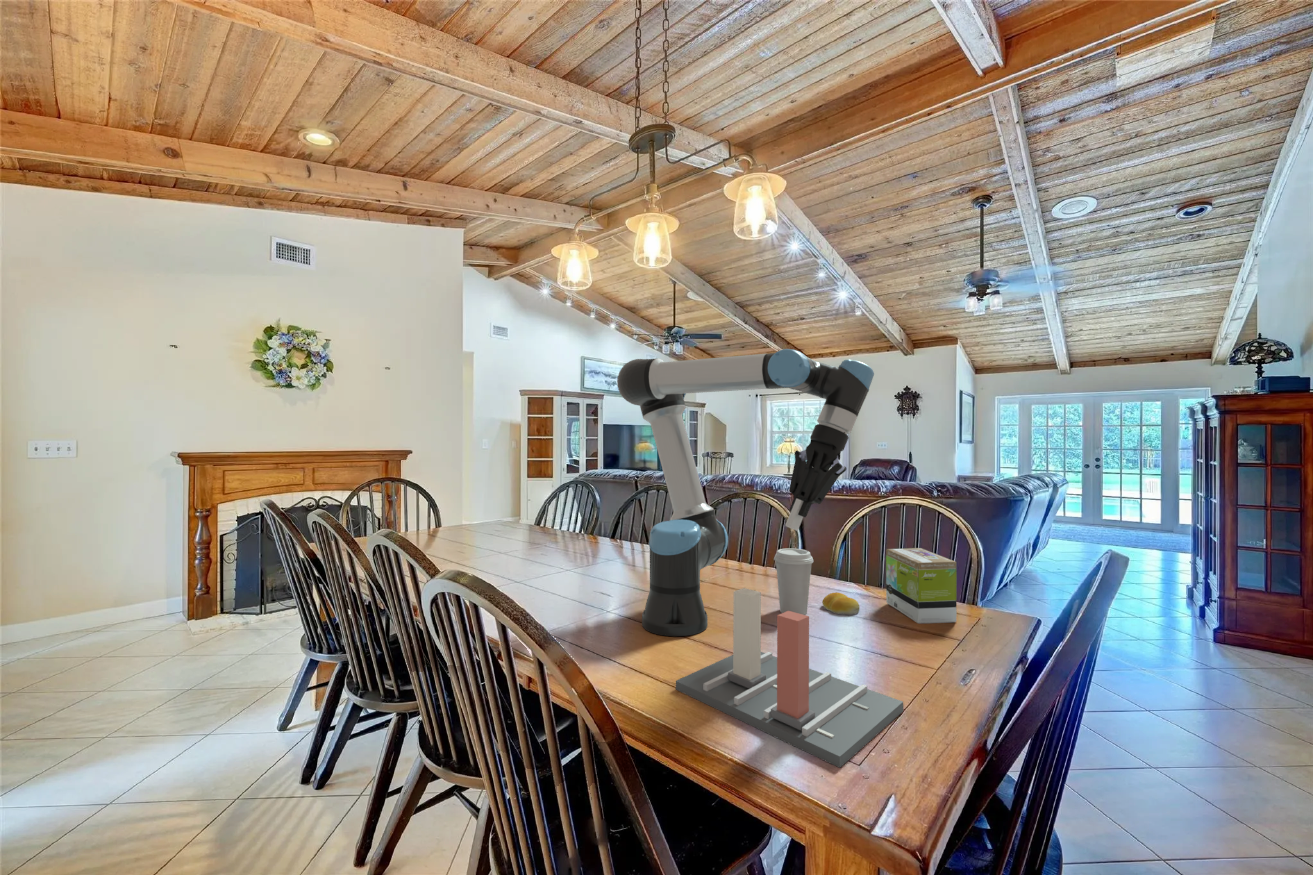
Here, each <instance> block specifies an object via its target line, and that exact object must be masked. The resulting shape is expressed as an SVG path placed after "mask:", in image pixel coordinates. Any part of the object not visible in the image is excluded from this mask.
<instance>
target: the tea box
mask: <svg viewBox="0 0 1313 875" xmlns="http://www.w3.org/2000/svg"><path fill="white" fill-rule="evenodd" d="M885 565H886V566H885V573H886V574H885V577H886V578H885V579H886V580H885V589H886V590H885V591H886V596H885V601H886V604H887V605H889V606H891V607H892V608H894V609H896V611H898V612H900V613H902V614H903V615H905V616H906V617H907V618H909V619H911V620H912V621H914V622H915V623H916V624H918V625H919V624H942V623H943V624H945V623H946V624H947V623H956V622H957V609H958V608H957V600H958V599H957V593H958V592H957V586H958V585H957V581H958V580H957V574H958V573H957V572H958V571H957V561H955V560H952V559H950V558H947V557H945V556H943V555H939V554H937V553H934V552H933V551H932V552H931V551H929V550H927V549H925V548H921V547H913V548H912V547H909V548H886V550H885Z"/></svg>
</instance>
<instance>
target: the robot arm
mask: <svg viewBox="0 0 1313 875" xmlns="http://www.w3.org/2000/svg"><path fill="white" fill-rule="evenodd" d="M874 375H875V371H874V369H873V368H872V367H871V366H870V365H869V364H868V365H867V364H866V363H864V362H862V361H859V360H856V359H845V360H842V361H841V363H840V364H839V366H835V365H830V364H826V363H823V362H820V361H817V360H814V359H812V358H810V357H808V356H806V355H805V354H804V353H802V352H801V351H800V350H796V349H791V348H783V349H780V350H778V351H776V352H772V353H757V354H745V355H735V356H722V357H721V356H720V357H712V358H711V357H710V358H699V359H687V360H675V361H664V360H663V359H662V358H635V359H631V360H629V361H628V362H626V363H625V364H624V365H623V366H622V367H621V369H620V370H619V373H618V374H617V381H616V382H617V383H616V385H617V389H618V392H619V394H620V395H621V397H622V398H623V400H625V401H626V402H628V403H630V404H631V405H634V406H639V408H640V411H641V415H642V418H643V420H644V421H646V422H648V423H649V424H650V427H651V430H652V434H653V438H654V442H655V446H656V449H657V454H658V457H659V461H660V465H661V468H662V472H663V477H664V480H665V484H666V487H667V491H668V495H669V498H670V503H671V507H672V511H673V513H672V515H671V517H670V519H669V520H664V521H661V522H657V523H656V524H655V525H653V527H652V528H651V530H650V534H649V535H650V536H649V541H648V547H649V593H648V596H647V599H646V603H645V606H644V610H643V611H642V616H641V625H642V628H643V629H644V630H646V631H647V632H649V633H652V634H655V635H659V636H667V637H687V636H692V635H697V634H699V633H702V632H704V631H705V630H707V628H708V627H709V626H708V623H709V622H708V618H709V617H708V614H707V611H706V610H705V606H704V602H703V597H702V594H701V570H702V569H704V568H706V567H708V566H712V565H713V564H715V563H717V562H718V561H719V560H720V559H721V558H722V557H723V556H724V555H725V553H726V550H727V548H728V543H729V536H728V535H729V534H728V533H727V530H726V527H725V526H724V524H723V523H722V522H720V521H719V520H718V519H717V516H716V513H715V512H716V511H715V510H714V507H712V506H710V505H709V504H708V503H707V502H706V498H705V495H704V491H703V488H702V484H701V480H700V476H699V473H698V470H697V466H696V461H695V458H694V454H693V451H692V446H691V444H690V440H689V436H688V432H687V429H686V425H685V422H684V417H683V413H684V412H685V410H686V403H685V396H686V395H687V394H699V393H701V394H702V393H715V392H716V393H717V392H718V393H719V392H732V391H733V392H734V391H736V392H737V391H752V390H776V389H777V390H778V389H790V390H795V391H798V392H802V393H804V394H807V395H811V396H814V397H818V398H821V399H824V400H825V402H824V404H823V406H822V408H821V410H820V413H819V416H818V418H817V419H816V420H817V423H818V424H815V425H814V428H813V430H812V433H811V435H810V439H809V440H810V441H809V444H808V445H807V446H806V447H805V449H803V450H801V451H800V450H795V452H794V465H793V468H792V469H793V470H792V475H791V479H790V485H789V487H788V488H789V489H788V492H789V493H790V494H792V495H793V499H792V502H791V505H790V507H789V512H790V513H789V516H788V518H787V521H786V522H785V527H786V528H789V529H791V530H794V531H796V532H798V531H799V529H800V526H801V524H802V522H803V519H804V518H806V517H807V515H808V513H809V511H810V509H811V506H812V505H813V504H818V505H819V504H822V502H823V500H824V499H825V498H826V496H827V495H828V493H829V492H830V490H831V489H832V488H833V486H834V485H835V483H836V482H837V480H838V478H839V477H840V476H841V475H842V474H844V473H845V472H846V471H847V467H846V466H845V465H843V463H842V462H841V452H843V451H844V450H845V448H846V446H847V442H848V440H849V435H848V434H851V433H852V431H853V428H854V426H855V423H856V421H857V419H858V416H859V414H860V412H861V409H862V407H863V404H864V402H865V400H866V398H867V396H868V393H869V391H870V387H871V385H872V383H873V382H872V381H873V380H874Z"/></svg>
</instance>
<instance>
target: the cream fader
mask: <svg viewBox="0 0 1313 875" xmlns="http://www.w3.org/2000/svg"><path fill="white" fill-rule="evenodd" d="M732 632H733V634H732V635H733V640H732V641H733V643H732V644H733V649H732V650H733V654H732V655H733V670H732V671H730V672H728V680H730V681H732V682H735V683H737V684H740V685H742V686H744V687H747V688H749V689H750V688H752V687H754V686H756V685H758V684H759V683H761V682H763V681H765V680H766V675H765V674H762V673H761V652H762V649H761V647H762V638H761V637H762V634H761V633H762V592H761V591H758V590H754V589H749V588H746V587H743V588H740V589H737V590H733V630H732Z"/></svg>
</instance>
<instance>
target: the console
mask: <svg viewBox="0 0 1313 875" xmlns="http://www.w3.org/2000/svg"><path fill="white" fill-rule="evenodd" d="M732 670H733V654H731V655H729V656H727V657H724V658H723V659H722V658H721V659H720V660H718V661H716V662H714V663H711V664H709V665H707V666H705V667H703V668H701V669H699V670H696V671H694V672H692V673H690V674H688V675H685V676H683V677H681V678H679V679H677V680H675V690H676V691H678V692H680V693H683V694H684V695H686V696H689V697H691V698H693V699H695V700H697V701H699V702H701V703H703V704H706V705H707V706H710V707H712V708H713V709H716V710H718V711H720V712H722V713H724V714H727V715H728V716H731V717H733V718H735V719H737V720H739V721H741V722H742V723H746V724H747V725H749V726H751V727H753V728H756V729H757V730H759V731H762V732H763V733H766V734H768V735H770V736H772V737H775V738H776V739H778V740H781V741H783V742H785V743H787V744H790V745H791V746H793V747H795V748H797V749H799V750H802V751H804V752H806V753H808V754H810V755H812V756H814V757H816V758H818V759H820V760H822V761H825V762H827V763H829V764H831V765H833V766H835V767H837V768H839V769H840V768H841V767H843V766H844V765H845V764H846V763H847V762H848V761H849V760H851V758H852V757H854V756H855V755H856V754H857V753H858V752H860V751H861V750H862V748H864V747H865V746H867V744H868V743H870V742H871V740H873V739H874V738H875V737H876V736H877V735H879V733H880V732H882V731H883V730H884V729H885V728H886V727H887V726H888V725H889V724H890V723H892V722H893V721H894V720H896V718H898V716H900V715H901V714H902V713H903V712H904V701H903V700H900V699H896V698H893V697H891V696H889V695H886V694H882V693H880V692H877V691H874V690H871V689H868V685H866V684H861V685H857V684H854V683H851V682H849V681H847V680H842V679H840V678H837V677H835V676H832V673H831V672H829V671H826V672H824V673H823V672H820V671H817V670H814V669H812V668H809V710H812V711H814V712H815V719H813V720H812V721H810V722H809V723H808V724H806V725H805V726H803V727H802V730H799V729H796V728H794V727H792V726H790V725H787V724H785V723H783V722H781V721H779V720H776V719H774V718H772V717H771V708H773V707H775V706H776V705H777V656H774V655H773V652H770V651H768V652H763V651H761V673H762V674H765V675H766V680H765V681H763V682H761V683H759V684H758V685H756V686H754V687H752V688H750V689H749V688H747V687H744V686H742V685H740V684H737V683H735V682H732V681H730V680H728V672H730V671H732Z"/></svg>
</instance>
